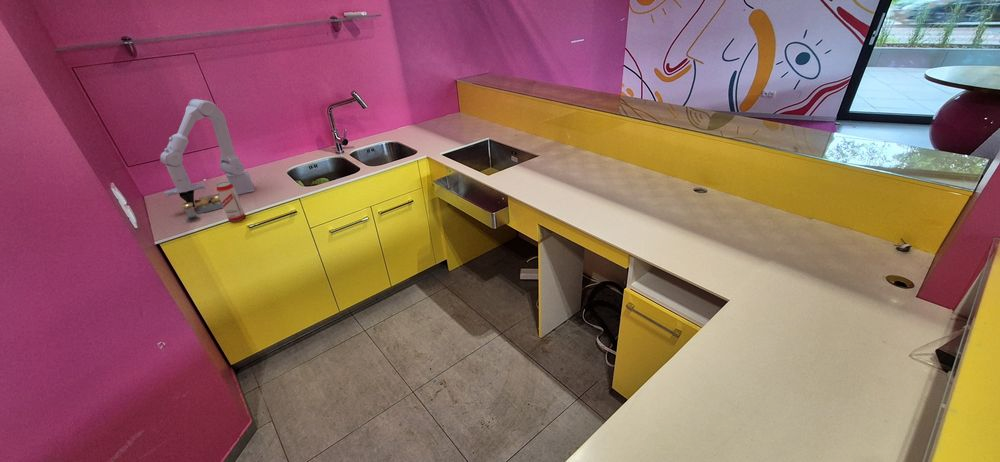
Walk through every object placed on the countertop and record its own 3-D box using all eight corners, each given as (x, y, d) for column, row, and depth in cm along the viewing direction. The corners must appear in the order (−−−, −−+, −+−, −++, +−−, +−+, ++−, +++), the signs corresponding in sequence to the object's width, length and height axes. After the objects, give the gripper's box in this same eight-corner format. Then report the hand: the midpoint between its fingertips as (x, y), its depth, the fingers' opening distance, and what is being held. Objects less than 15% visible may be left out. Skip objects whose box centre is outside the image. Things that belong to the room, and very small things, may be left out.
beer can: (233, 216, 179) (219, 181, 171) (248, 215, 180) (235, 180, 172) (226, 223, 174) (211, 187, 166) (241, 222, 174) (227, 186, 166)
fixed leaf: (225, 196, 198) (221, 188, 196) (225, 204, 190) (222, 195, 188) (200, 201, 193) (196, 193, 191) (200, 210, 186) (196, 201, 184)
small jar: (200, 215, 180) (193, 201, 177) (197, 219, 177) (190, 205, 173) (189, 217, 179) (182, 203, 176) (186, 221, 176) (179, 207, 172)
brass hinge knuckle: (223, 201, 193) (220, 193, 191) (224, 207, 187) (220, 199, 185) (198, 206, 188) (194, 198, 186) (197, 213, 182) (194, 205, 180)
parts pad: (198, 216, 181) (198, 215, 180) (198, 220, 177) (198, 219, 177) (186, 218, 179) (186, 218, 178) (186, 223, 175) (185, 222, 175)
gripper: (200, 171, 185) (212, 199, 192) (160, 179, 179) (174, 207, 186) (199, 176, 180) (212, 205, 187) (159, 184, 174) (173, 213, 180)
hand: (193, 206), depth 186 cm, fingers closed
